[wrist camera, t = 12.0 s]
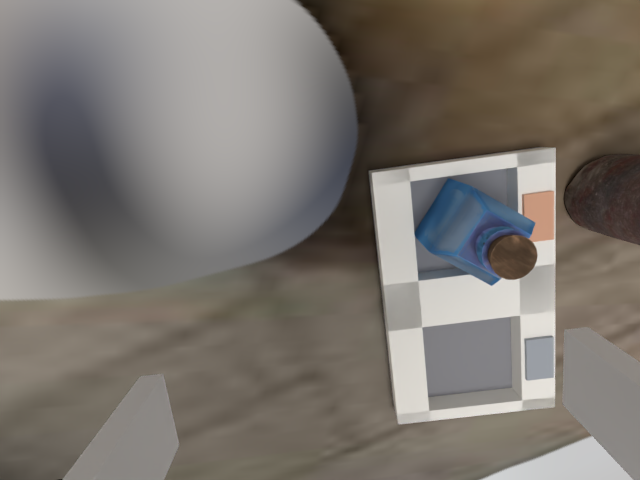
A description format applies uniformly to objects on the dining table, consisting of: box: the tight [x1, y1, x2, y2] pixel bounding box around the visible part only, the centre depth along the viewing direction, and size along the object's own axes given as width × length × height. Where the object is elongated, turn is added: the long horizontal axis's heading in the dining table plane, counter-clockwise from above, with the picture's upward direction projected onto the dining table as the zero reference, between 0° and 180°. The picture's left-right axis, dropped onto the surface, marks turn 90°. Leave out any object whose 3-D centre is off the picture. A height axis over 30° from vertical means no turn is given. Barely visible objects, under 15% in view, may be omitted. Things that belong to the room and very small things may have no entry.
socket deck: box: [368, 147, 556, 424], centre depth 40 cm, size 26×16×3 cm, turn 8°
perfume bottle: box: [414, 178, 538, 286], centre depth 34 cm, size 6×6×12 cm
